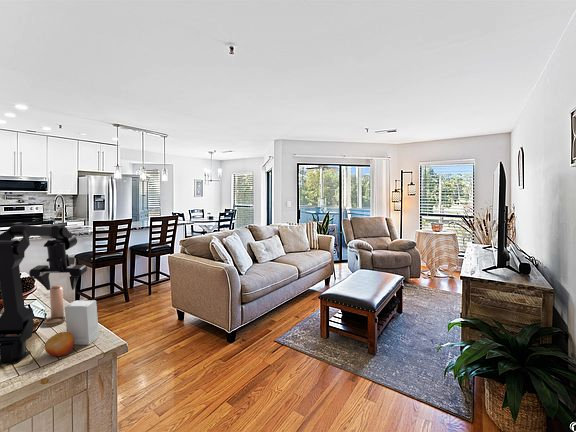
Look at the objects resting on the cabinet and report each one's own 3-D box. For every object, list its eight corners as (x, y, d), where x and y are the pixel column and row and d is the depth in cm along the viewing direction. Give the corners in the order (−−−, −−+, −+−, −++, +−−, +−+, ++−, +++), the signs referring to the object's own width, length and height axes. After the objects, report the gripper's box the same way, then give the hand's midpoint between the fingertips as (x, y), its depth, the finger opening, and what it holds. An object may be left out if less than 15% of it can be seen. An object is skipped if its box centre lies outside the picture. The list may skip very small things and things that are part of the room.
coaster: (58, 326, 120) (58, 322, 120) (39, 326, 119) (39, 323, 119) (68, 318, 127) (68, 315, 127) (50, 319, 126) (50, 316, 126)
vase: (59, 318, 127) (58, 287, 125) (48, 319, 126) (47, 287, 125) (65, 314, 131) (64, 284, 130) (55, 314, 130) (54, 284, 129)
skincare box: (99, 337, 112) (98, 299, 111) (88, 346, 106) (87, 306, 105) (77, 337, 112) (76, 299, 111) (65, 345, 106) (64, 305, 105)
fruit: (84, 341, 106) (74, 328, 101) (69, 363, 99) (57, 350, 95) (64, 340, 107) (53, 327, 102) (47, 361, 100) (35, 348, 96)
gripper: (91, 248, 129) (94, 281, 132) (43, 248, 126) (48, 282, 129) (78, 256, 118) (82, 292, 121) (25, 257, 115) (30, 293, 118)
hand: (61, 289), depth 123 cm, fingers open, 9 cm apart
